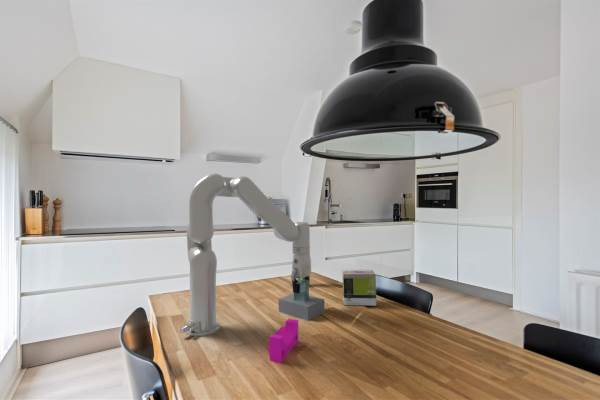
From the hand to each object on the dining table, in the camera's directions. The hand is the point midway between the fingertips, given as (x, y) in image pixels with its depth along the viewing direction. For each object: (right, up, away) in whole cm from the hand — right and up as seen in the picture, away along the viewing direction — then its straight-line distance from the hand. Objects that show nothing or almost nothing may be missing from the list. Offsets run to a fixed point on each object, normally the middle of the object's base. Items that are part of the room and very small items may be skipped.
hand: (301, 289), depth 135 cm
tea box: (+27, -10, +12) cm, 31 cm away
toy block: (-7, -10, -33) cm, 35 cm away
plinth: (0, -10, 0) cm, 10 cm away
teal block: (0, -4, 0) cm, 4 cm away
